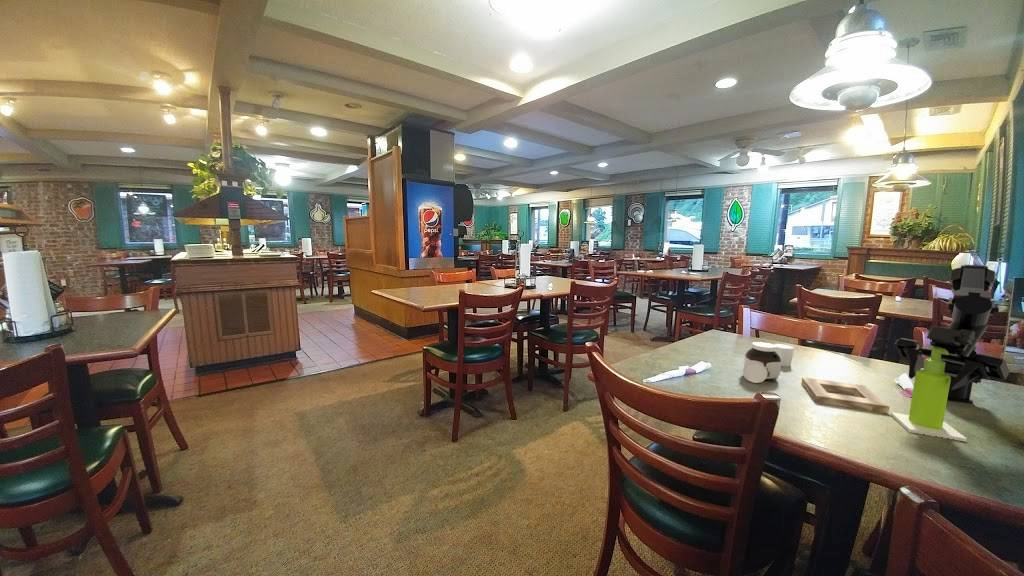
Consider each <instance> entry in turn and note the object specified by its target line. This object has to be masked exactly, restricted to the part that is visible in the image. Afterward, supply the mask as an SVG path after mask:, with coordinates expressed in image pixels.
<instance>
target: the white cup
mask: <svg viewBox="0 0 1024 576" xmlns="http://www.w3.org/2000/svg"><path fill="white" fill-rule="evenodd" d="M773 345H775V346H776V353H777V354H778V355H779V356H780V358H781V367H791V365H792V361H793V357H794V351H795V346H793V345H789V344H783V343H773Z"/></svg>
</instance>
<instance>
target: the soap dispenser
mask: <svg viewBox="0 0 1024 576" xmlns="http://www.w3.org/2000/svg"><path fill="white" fill-rule="evenodd" d="M929 349H932V353H931V357H928V358H924V359H925V360H924V363H925V364H924V365H923V369H920V370H917V371H916V375H915V377H914V382H913V386H912V387H913V389H912V394H911V401H910V405H909V406H910V407H909V414H908V415H909V421H911V422H912V423H915V424H917V425H920V426H923V427H927V428H933V429H941V428H942V427H943V421H944V420H945V416H946V415H945V414H946V409H947V403H948V400H947V398H948V392H949V386H950V381H951V377H950V376H948V375H946V374H944V369H945V362H944V361H943V360H941V355H942V354H943V355H949V353H948V351H947V350H946V349H944V348H941V347H934V346H931V345H930V346H929ZM944 422H945V421H944Z"/></svg>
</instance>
